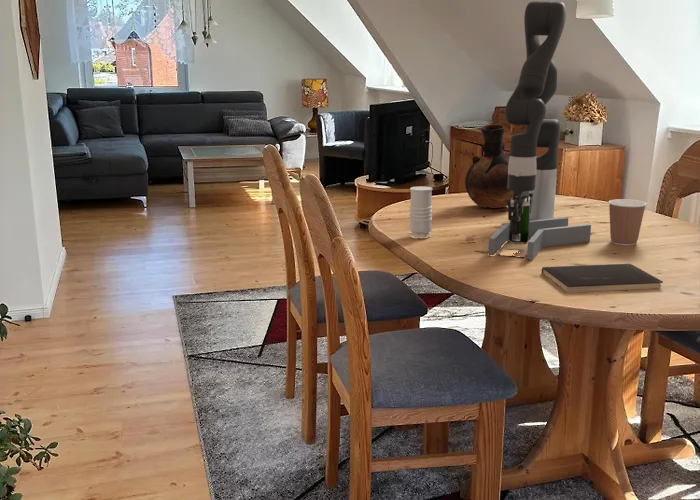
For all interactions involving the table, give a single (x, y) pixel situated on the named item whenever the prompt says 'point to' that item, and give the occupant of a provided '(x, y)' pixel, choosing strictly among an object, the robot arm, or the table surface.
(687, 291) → the table surface
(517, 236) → the beer can
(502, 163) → the ceramic vessel
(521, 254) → the pad
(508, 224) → the bent channel
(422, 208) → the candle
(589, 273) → the hardcover book
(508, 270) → the table surface
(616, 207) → the coffee cup
